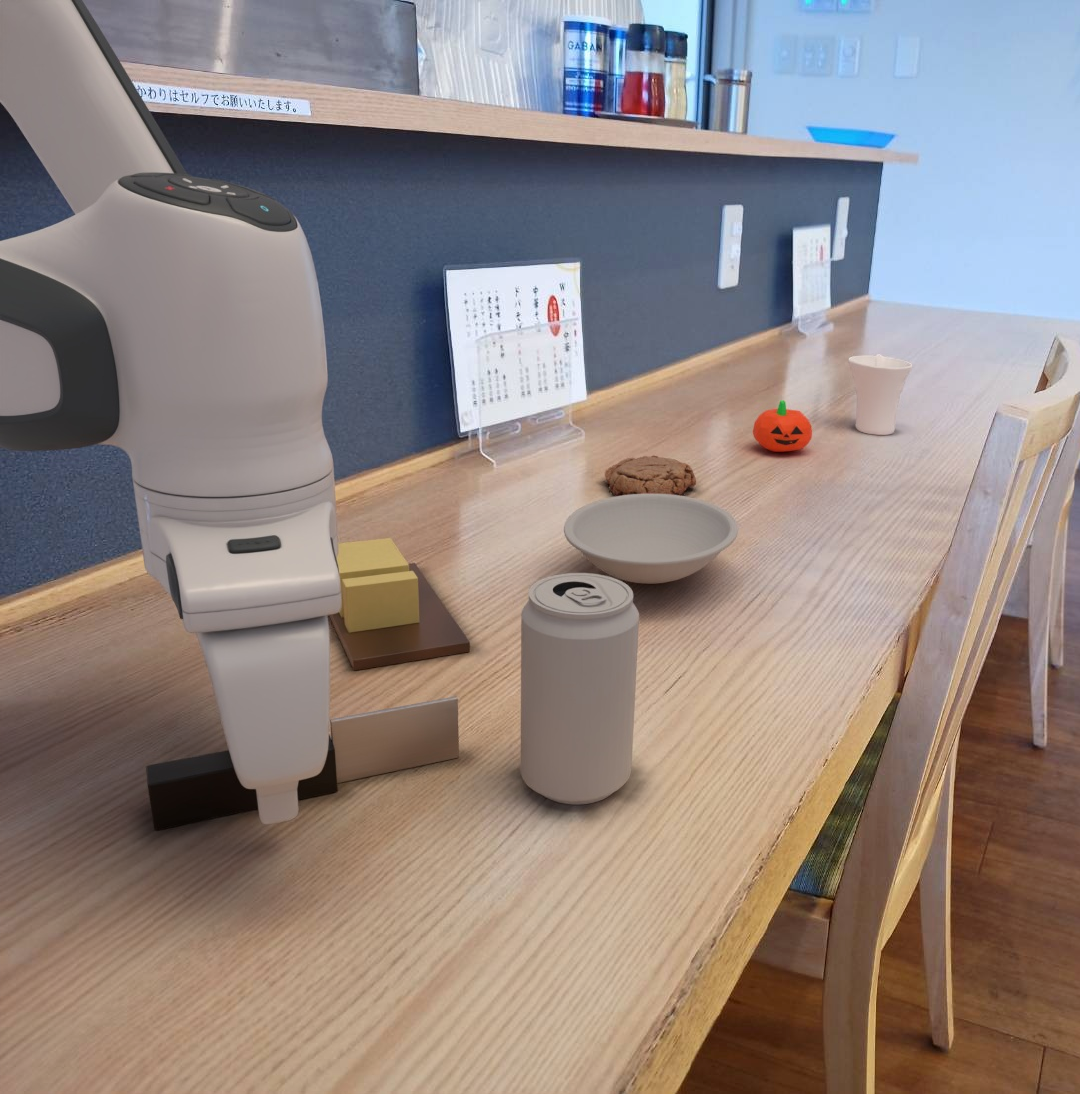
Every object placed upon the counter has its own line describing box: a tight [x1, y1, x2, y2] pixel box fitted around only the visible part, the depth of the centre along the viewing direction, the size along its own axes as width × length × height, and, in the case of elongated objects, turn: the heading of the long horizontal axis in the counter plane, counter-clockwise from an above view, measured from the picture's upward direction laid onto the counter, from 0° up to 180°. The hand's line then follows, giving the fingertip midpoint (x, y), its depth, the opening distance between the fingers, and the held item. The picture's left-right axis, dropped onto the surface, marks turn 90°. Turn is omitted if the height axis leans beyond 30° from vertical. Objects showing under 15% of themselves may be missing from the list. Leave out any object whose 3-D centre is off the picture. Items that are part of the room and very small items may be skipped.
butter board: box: [328, 562, 471, 671], centre depth 79 cm, size 8×16×1 cm, turn 29°
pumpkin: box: [752, 399, 813, 453], centre depth 131 cm, size 7×8×6 cm
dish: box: [563, 494, 739, 585], centre depth 89 cm, size 18×14×5 cm
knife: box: [145, 696, 460, 831], centre depth 57 cm, size 16×2×4 cm, turn 119°
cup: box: [847, 353, 914, 436], centre depth 145 cm, size 9×9×10 cm
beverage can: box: [519, 572, 640, 806], centre depth 58 cm, size 6×6×12 cm
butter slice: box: [342, 571, 419, 633], centre depth 75 cm, size 5×2×4 cm, turn 119°
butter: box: [337, 537, 410, 618], centre depth 79 cm, size 5×6×4 cm
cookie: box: [604, 454, 697, 497], centre depth 113 cm, size 10×11×3 cm
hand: (265, 767), depth 56 cm, fingers open, 8 cm apart
